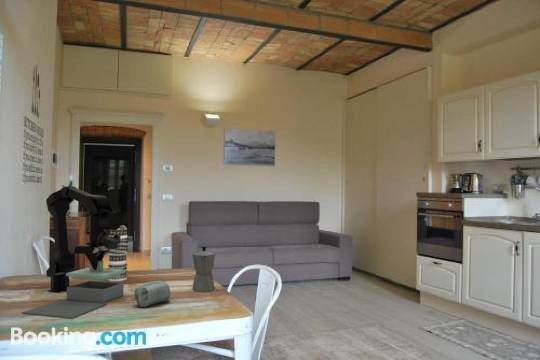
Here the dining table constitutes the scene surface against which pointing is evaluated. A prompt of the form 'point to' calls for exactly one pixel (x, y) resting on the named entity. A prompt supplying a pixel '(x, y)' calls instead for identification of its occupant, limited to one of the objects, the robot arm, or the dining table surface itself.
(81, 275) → the lid
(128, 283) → the dining table surface
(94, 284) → the tub
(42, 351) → the dining table surface
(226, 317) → the dining table surface
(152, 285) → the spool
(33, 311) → the mat
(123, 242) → the decorative candle
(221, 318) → the dining table surface
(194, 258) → the coffeepot
